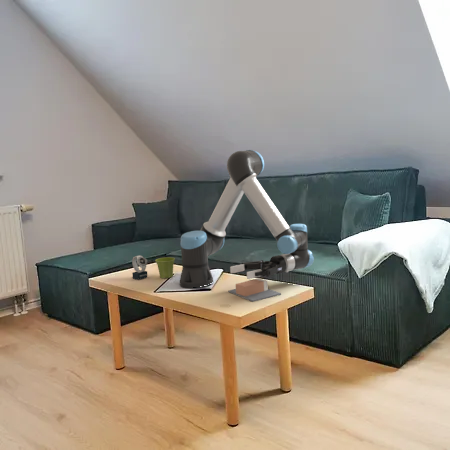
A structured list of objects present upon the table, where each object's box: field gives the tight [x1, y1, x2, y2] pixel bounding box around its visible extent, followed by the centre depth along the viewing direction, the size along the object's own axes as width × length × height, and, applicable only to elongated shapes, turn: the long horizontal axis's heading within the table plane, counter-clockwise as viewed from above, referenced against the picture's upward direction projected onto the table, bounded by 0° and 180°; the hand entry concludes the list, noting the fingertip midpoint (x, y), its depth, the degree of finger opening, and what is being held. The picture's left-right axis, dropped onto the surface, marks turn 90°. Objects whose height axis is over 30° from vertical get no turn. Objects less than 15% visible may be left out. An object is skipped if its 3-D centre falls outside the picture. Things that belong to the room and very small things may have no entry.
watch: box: [131, 254, 148, 281], centre depth 242 cm, size 6×8×11 cm
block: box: [235, 277, 269, 296], centre depth 207 cm, size 6×4×12 cm
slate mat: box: [228, 288, 282, 303], centre depth 207 cm, size 18×14×1 cm
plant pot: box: [154, 256, 176, 279], centre depth 242 cm, size 9×9×9 cm
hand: (238, 272), depth 202 cm, fingers open, 11 cm apart
